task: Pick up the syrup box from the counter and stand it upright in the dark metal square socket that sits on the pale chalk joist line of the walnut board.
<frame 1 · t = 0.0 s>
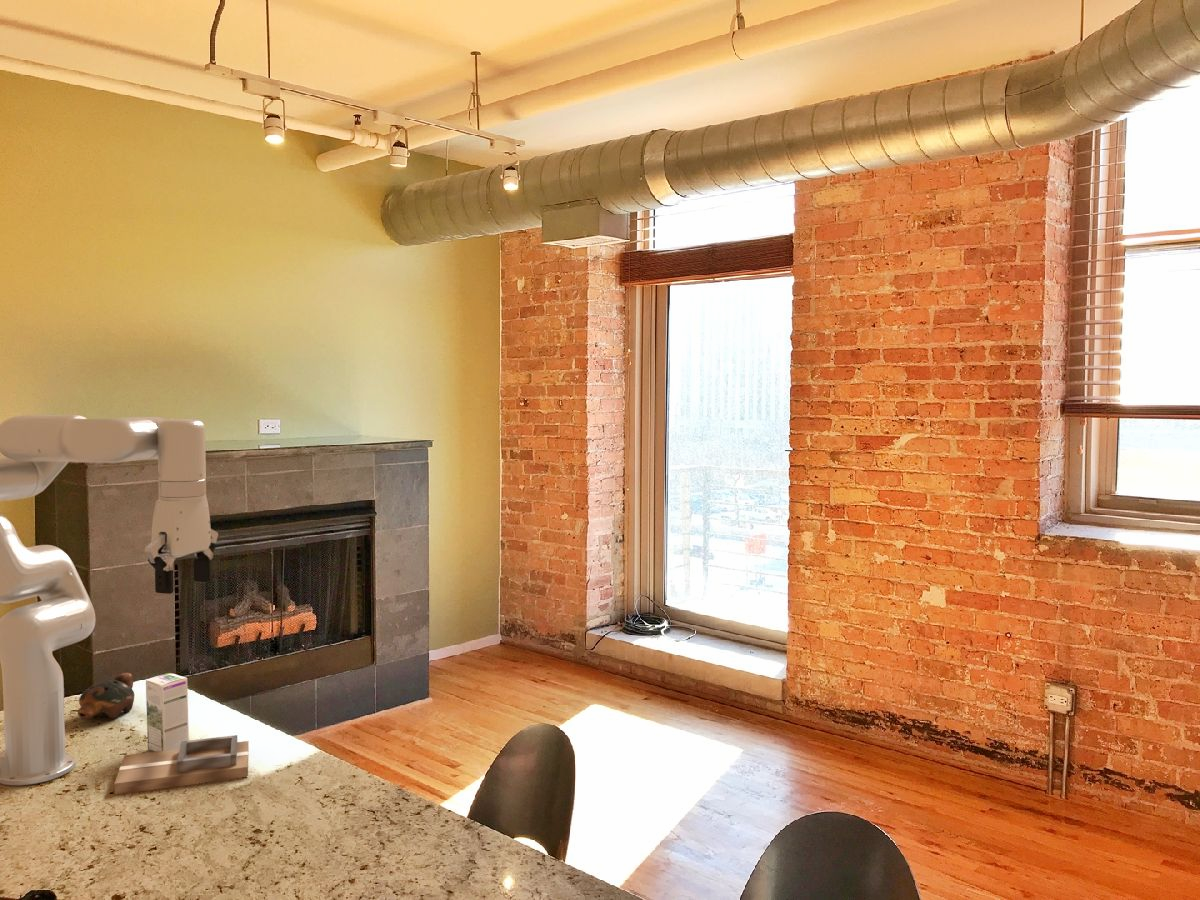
hand: (184, 586, 158), 37 cm above the countertop, tool pointing down, fingers open, 9 cm apart
decorative turtle: (107, 716, 197), on the countertop
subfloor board: (185, 771, 169), on the countertop
syrup box: (168, 749, 180), on the countertop
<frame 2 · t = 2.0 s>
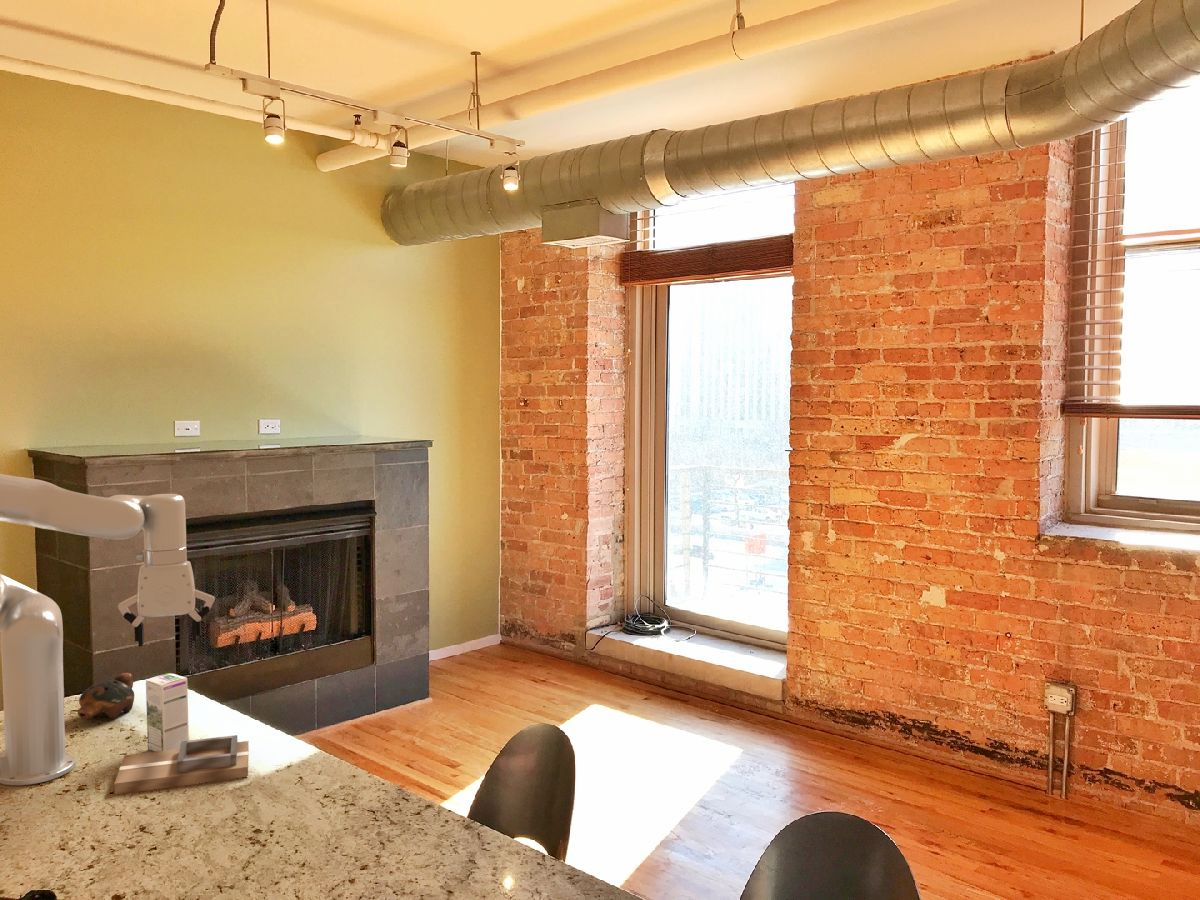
hand: (168, 642, 178), 22 cm above the countertop, tool pointing down, fingers open, 9 cm apart
nothing on the countertop moved.
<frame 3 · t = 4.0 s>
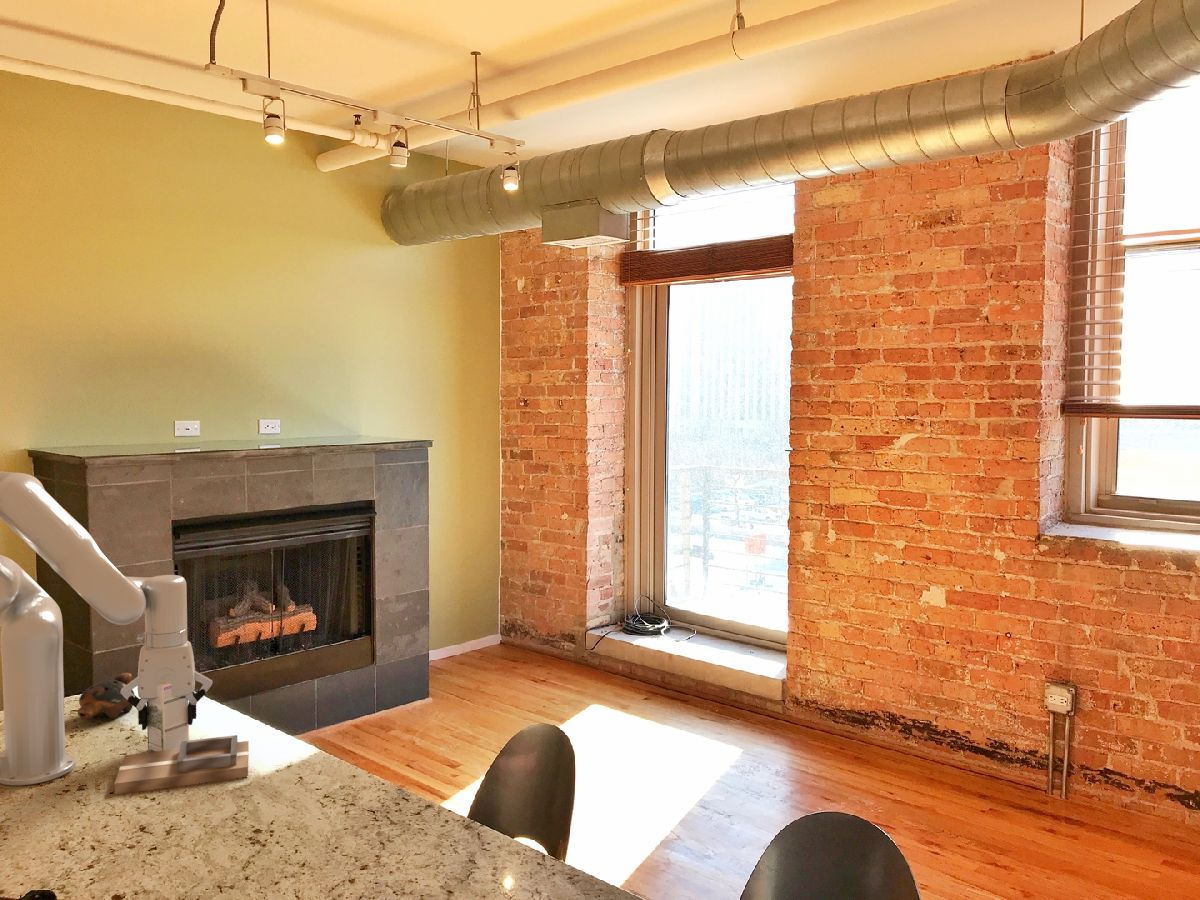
hand: (167, 724, 179), 5 cm above the countertop, tool pointing down, fingers closed on syrup box, 7 cm apart
syrup box: (168, 749, 180), on the countertop, touching gripper
everything else where it was.
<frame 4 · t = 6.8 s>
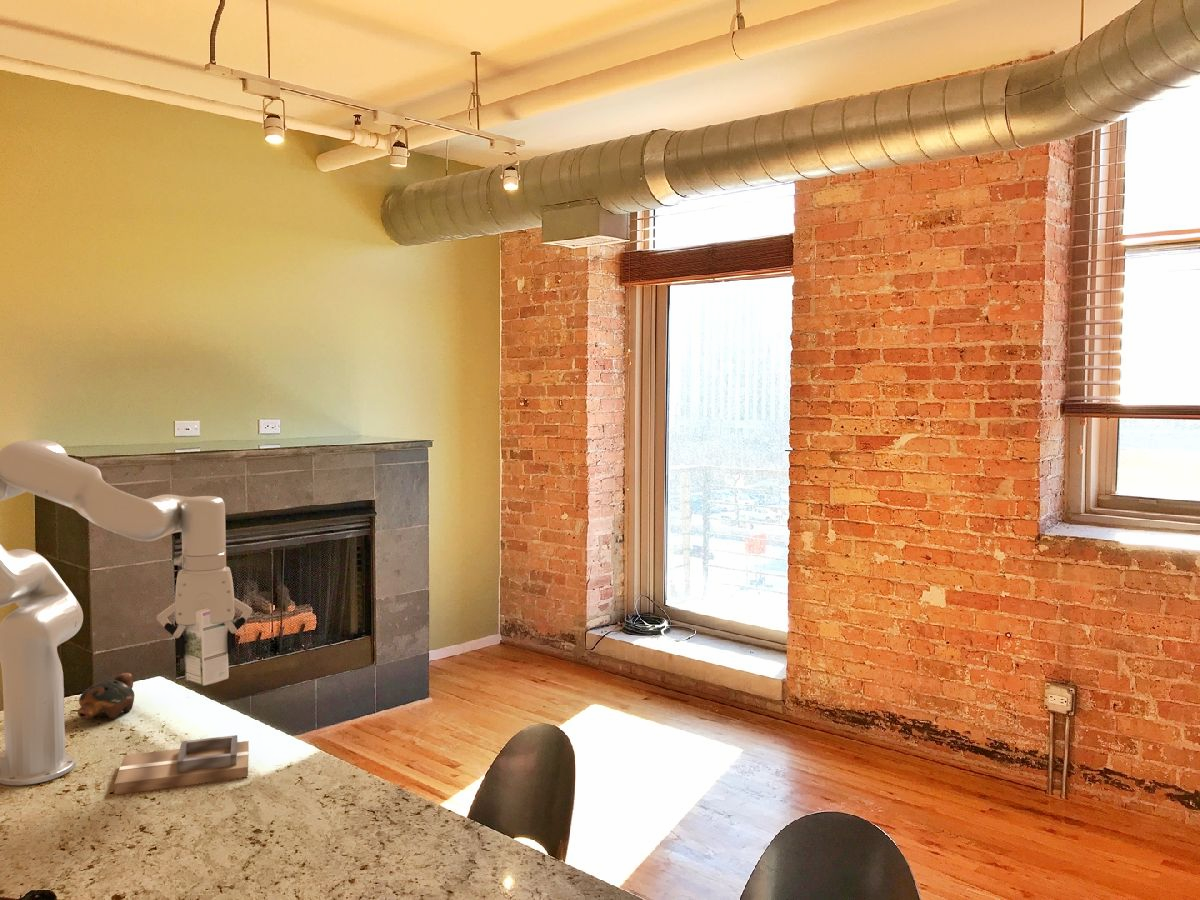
hand: (206, 654, 170), 22 cm above the countertop, tool pointing down, fingers closed on syrup box, 7 cm apart
syrup box: (206, 680, 170), point 17 cm above the countertop, touching gripper
everything else where it was.
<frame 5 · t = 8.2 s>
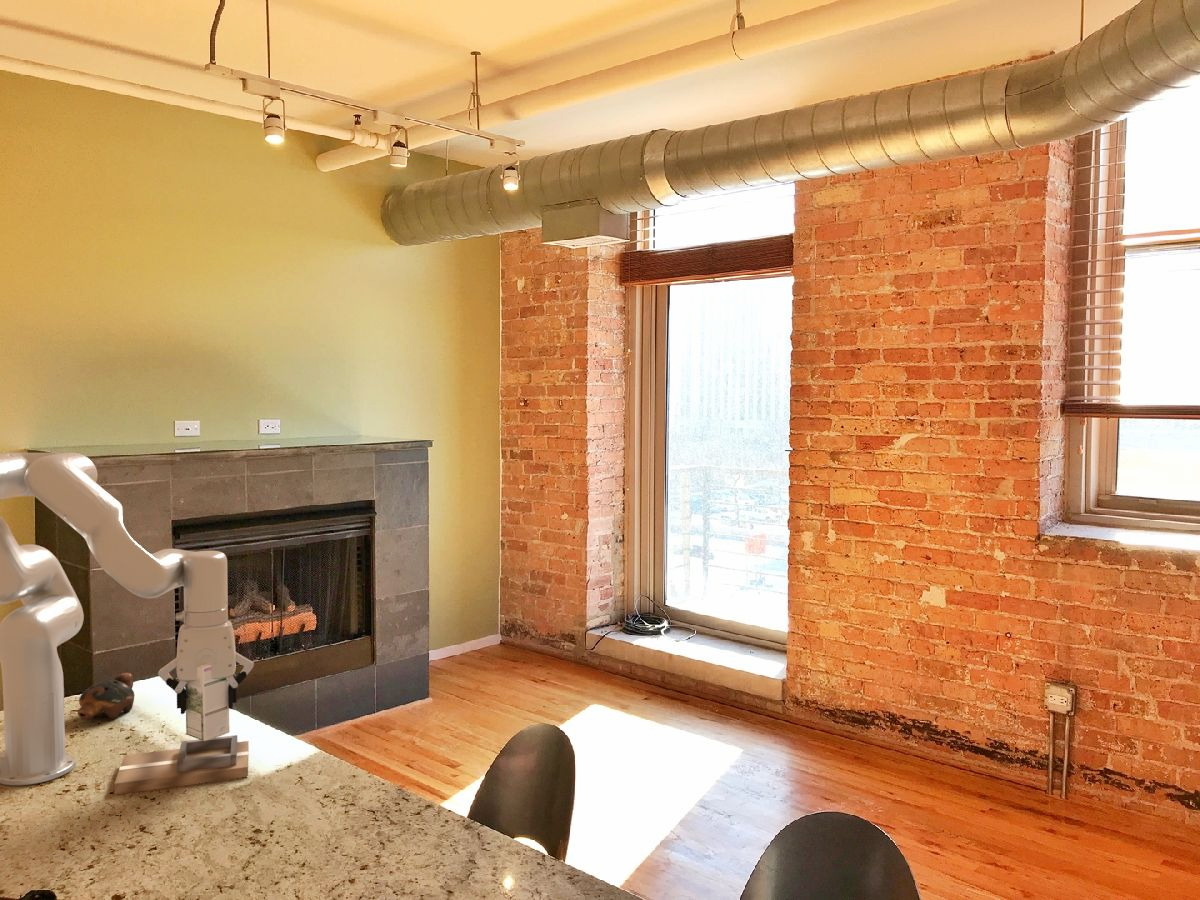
hand: (207, 708, 170), 12 cm above the countertop, tool pointing down, fingers closed on syrup box, 7 cm apart
syrup box: (207, 735, 170), point 6 cm above the countertop, touching gripper
everything else where it was.
when the fingers open (8 cm above the countertop, at t = 9.6 s): syrup box stays where it is, resting on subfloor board.
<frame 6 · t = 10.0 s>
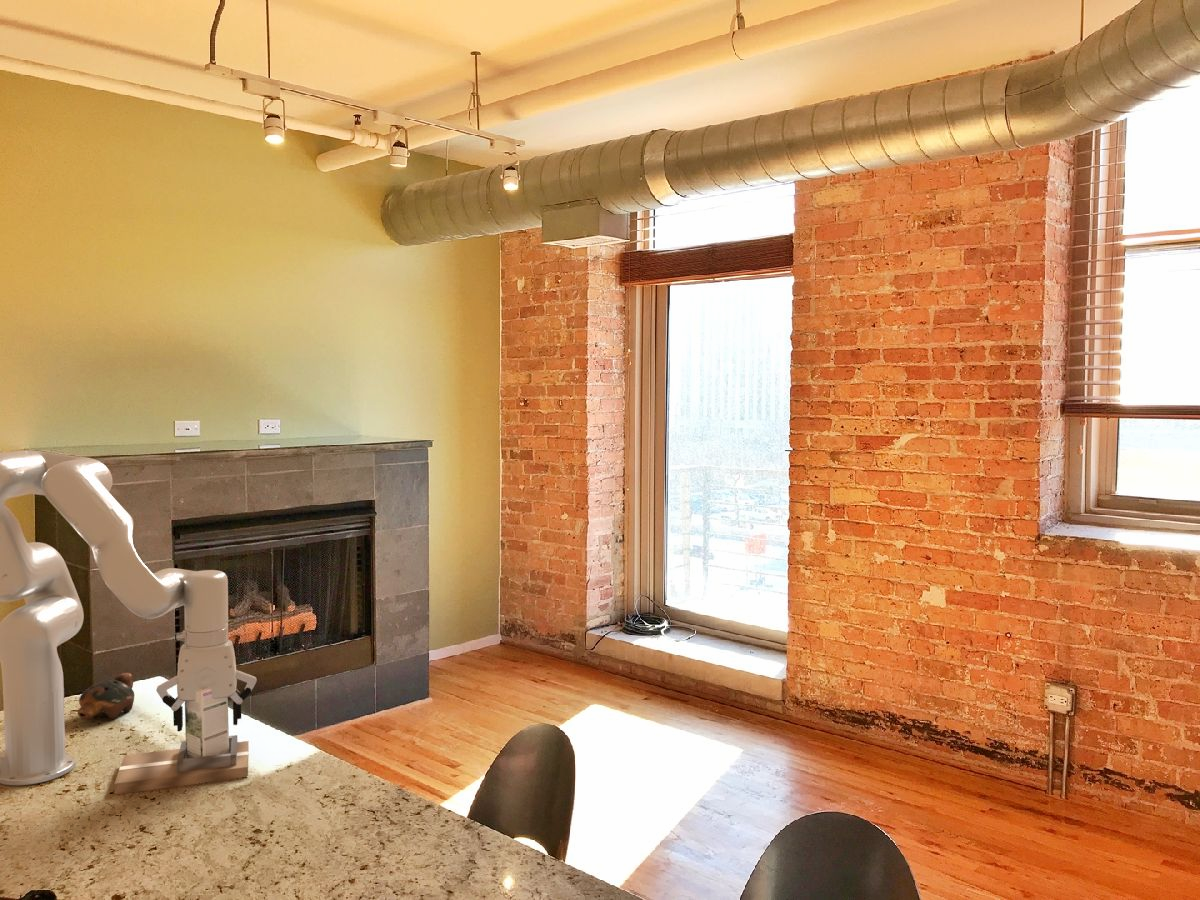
hand: (208, 725, 170), 8 cm above the countertop, tool pointing down, fingers open, 9 cm apart
syrup box: (207, 759, 170), point 2 cm above the countertop, touching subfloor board
everything else where it was.
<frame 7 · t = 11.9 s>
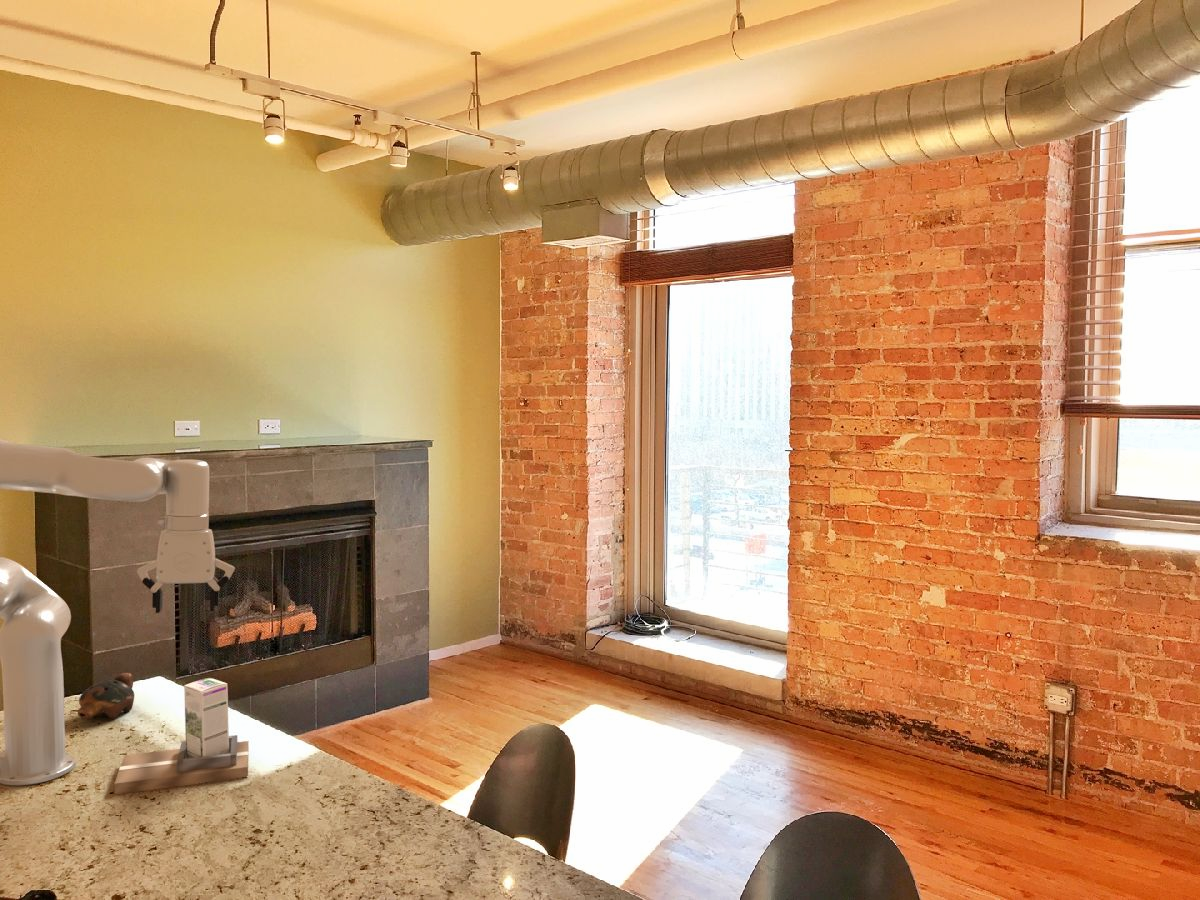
hand: (186, 610, 175), 29 cm above the countertop, tool pointing down, fingers open, 9 cm apart
nothing on the countertop moved.
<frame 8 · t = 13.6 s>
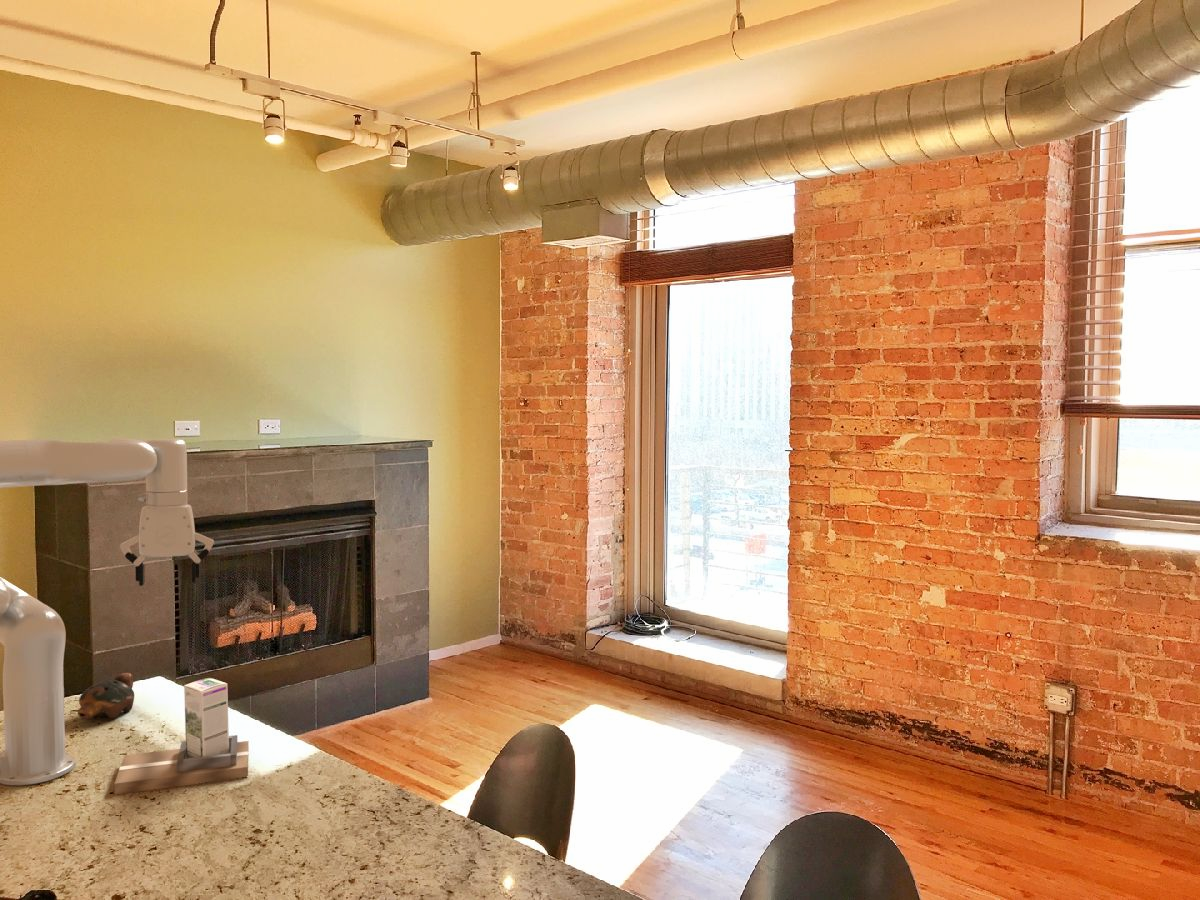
hand: (168, 582, 183), 32 cm above the countertop, tool pointing down, fingers open, 9 cm apart
nothing on the countertop moved.
at the end: syrup box 0.2 cm from the target spot on the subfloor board, point 1.9 cm above the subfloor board's base; syrup box tilted 0°; the gripper is holding nothing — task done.
